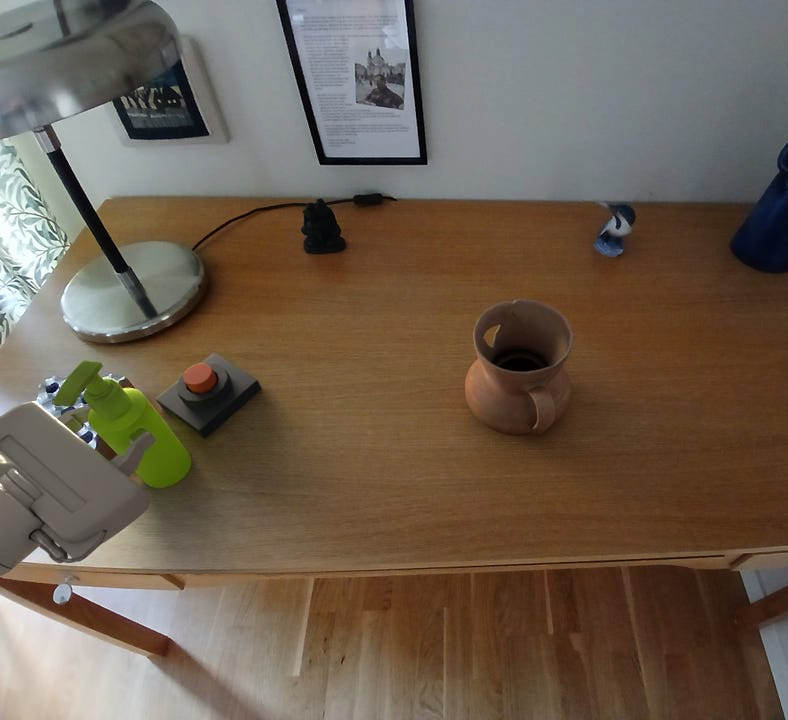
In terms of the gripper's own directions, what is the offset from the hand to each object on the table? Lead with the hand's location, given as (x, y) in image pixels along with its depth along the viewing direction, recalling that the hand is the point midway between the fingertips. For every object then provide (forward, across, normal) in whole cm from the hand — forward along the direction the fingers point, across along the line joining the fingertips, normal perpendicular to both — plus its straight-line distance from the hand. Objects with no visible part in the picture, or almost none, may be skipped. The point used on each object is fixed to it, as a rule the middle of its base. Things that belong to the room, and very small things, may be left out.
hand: (129, 417), depth 63 cm
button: (+10, +4, +7) cm, 13 cm away
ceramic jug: (+33, -32, +11) cm, 47 cm away
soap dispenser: (-1, 0, +11) cm, 11 cm away
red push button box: (+10, +4, +11) cm, 15 cm away
